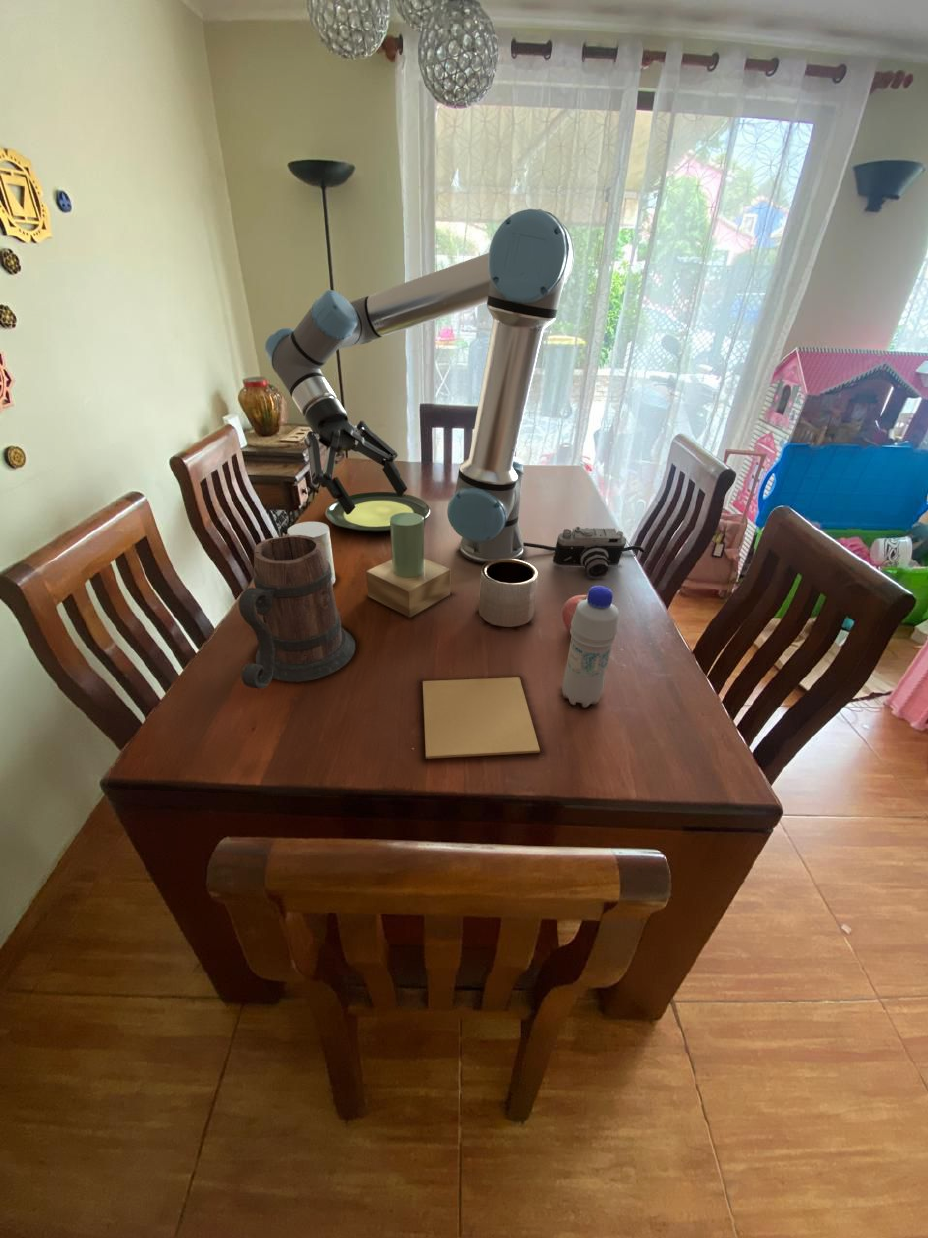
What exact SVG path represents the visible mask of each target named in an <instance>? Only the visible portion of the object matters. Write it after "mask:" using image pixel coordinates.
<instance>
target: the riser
mask: <svg viewBox="0 0 928 1238" xmlns="http://www.w3.org/2000/svg"><path fill="white" fill-rule="evenodd" d="M365 574H366V585H367V586H366V587H367V596H368V598H370V599H372V600H374V601H376V602H378V603H380V604H381V605H383V606H385V607H387V608H389V609H391V610H393V611H396V612H397V613H400V614H402V615H403V616H405V617H407V618H413V617H414V616H415V615H417V614H419V613H421V612H423V611H424V610H427V609H428V608H429V607H432V606H433V605H435V604H436V603H438V602H440V601H442V600H443V599H445V598H447V597H448V596H450V595H451V568H448V567H446V566H444V565H442V564H438V563H437V562H434V561H431V560H429V559H426V558H425V557H424V572H423V573H422V574H421V575H419V576H416V577H411V578H405V577H400V576H397V575H395V574H394V573H393V569H392V558H391V559H390V560H387V561H385V562H383V563H380V564H378V565H376V566H374V567H372V568H369V569H368V570H366V571H365Z"/></svg>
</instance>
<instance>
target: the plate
mask: <svg viewBox="0 0 928 1238" xmlns="http://www.w3.org/2000/svg"><path fill="white" fill-rule="evenodd" d="M349 497H350V498H351V500H352V502H353V503H354V505H355V508H354V509H353V511H352V512H351V513H350V514H348V515H347V514H346V513H345V511H344V510H343V508H342V506H341V505H340V503H339V501H338V500H337V499H336V500H335V501H333V502H331V503H330V504H329V505H328V507H327V508H326V510H325V517H326V518H327V520H328V521H329V522H330V523H331V524H333V525H334V526H337V527H338V528H339V527H340V528H344V529H348V530H352V531H357V532H367V533H384V532H385V533H386V532H390V517H391V516H393V515H395V514H398V513H416V514H419V515H421V516H422V517H423V519H424V520H426V519H427V518H428V517H429V515H430V514H431V507H430V506H429V504H428V503H427V502H426V501H424V500H423V499H421V498H419V497H418V496H417V497H416V496H414V495H410V494H407V493H403V494H402V495H401V496H398V494H397V493H396V491H393V492H392V491H370V492H369V491H368V492H360V493H355V494H351V495H349Z"/></svg>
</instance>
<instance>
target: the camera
mask: <svg viewBox="0 0 928 1238" xmlns="http://www.w3.org/2000/svg"><path fill="white" fill-rule="evenodd" d="M623 535H624V532H623V531H621V530H618V531H617V530H616V528H588V527H585V528H581V527H580V526H576V527H574V528H572V530H570V529H568V528H566V529H564V530H563V531H562V532H560V533H558V536H557V538H556V543H555V547H556V548H555V551H554V553H553V558H552V563H553V564H554V565H555V566H557V567H584V571H585V572H586V574H587V576H588V577H589V578H591V579H593V580H595V579H596V580H597V579H601V578H603V577H605V576H607V575H608V573H609V571H610V568H609V567H616V566H618V565H619V563H620V561H621V557H622V555H623V553H624V552H623V549H624V548H625V547H626V544H627V541H628V540H627V538H626V537H625V536H623Z"/></svg>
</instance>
